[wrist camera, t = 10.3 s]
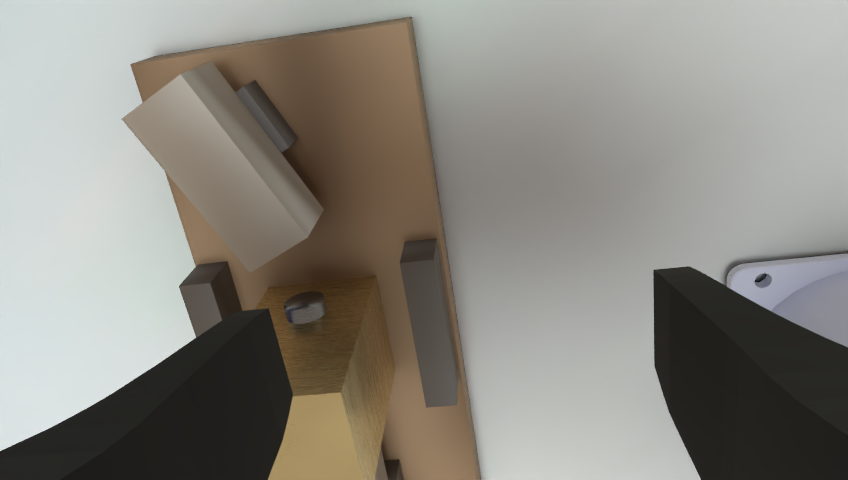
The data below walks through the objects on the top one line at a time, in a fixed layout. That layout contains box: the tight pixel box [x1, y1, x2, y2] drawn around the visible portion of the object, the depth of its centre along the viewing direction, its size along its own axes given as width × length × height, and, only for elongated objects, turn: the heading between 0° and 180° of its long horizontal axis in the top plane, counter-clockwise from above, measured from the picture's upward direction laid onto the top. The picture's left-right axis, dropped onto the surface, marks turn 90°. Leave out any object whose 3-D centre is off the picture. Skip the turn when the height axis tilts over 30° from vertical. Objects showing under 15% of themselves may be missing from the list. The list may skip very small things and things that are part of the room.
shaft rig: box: [122, 17, 481, 480], centre depth 21 cm, size 8×18×4 cm, turn 8°
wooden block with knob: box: [255, 276, 395, 480], centre depth 19 cm, size 4×4×6 cm
